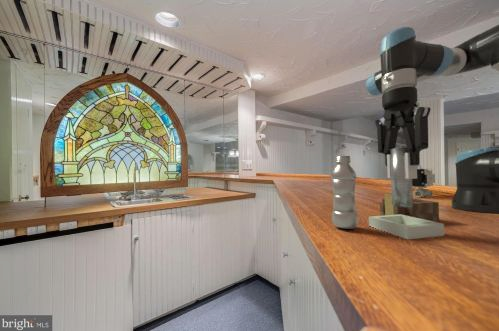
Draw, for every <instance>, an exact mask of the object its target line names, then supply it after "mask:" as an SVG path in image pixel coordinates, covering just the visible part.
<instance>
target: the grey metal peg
mask: <svg viewBox="0 0 499 331" xmlns="http://www.w3.org/2000/svg"><path fill="white" fill-rule="evenodd" d="M389 150H390V151H391V178H390V188H391V191H390V193H392V205H393V206H399V207H413V199H414V197H413V195H414V191H413V186H412V179H406V176H405V153H410V152H406V150H408V149H407V147H398V148H396V147H395V149H389Z"/></svg>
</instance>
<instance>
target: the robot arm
mask: <svg viewBox="0 0 499 331" xmlns="http://www.w3.org/2000/svg"><path fill="white" fill-rule="evenodd" d="M416 37H417V36H416V32H415V29H414V28H413V27H410V26H409V27H408V26H404V27H400V28H396V29H394V30H392V31H391V32H389V33H388V34H386V35H385V36H384V37H383V38H382V39H381V42H380V51H379V57H380V70H379V71H377V72H374V73H373V74H371V75H370V76H369V77H368V78H367V80H366V82H365V88H366V91H367V93H369V94H370V95H371V96H374V97H375V96H376V97H377V96H379V95H381V106H382V109H383V110H384V113H383V117H381V118H380V119H376V120H375V121H374V124H375V126H376V131H377V132H376V133H377V152H378V153H380V154H383V155H384V160H385V161H384V162H385V163H384V164H385V167H387V168H386V170H387V171H386V172H387V179H391V151H390V149H395V148H396V146H397V139H398V136H399V130H401V129H402V133H403V136H404V142H405V145H406V148H407V149H408V150H406V152H410V153H405V176H406V179H417V168H418V166H420V152H421V151H423V150H427V149H428V148H429V116H430V112H431V108H430V107H429V106H426V107H425V106H418V104H417V102H418V88H417V86H418V83H420V82H423V81H427V80H430V79H433V78H437V77H441V76H443V77H450V76H453V75H457V74H462V73H466V72H471V71H475V70H479V69H482V68H486V67H488V66H490V68H491V69H492V70H496V71H498V72H499V24H497V25H495V26H493V27H491V28H489V29H487V30H485V31H482V32H481V33H479V34H477V35H475V36H473V37H471V38H469V39H467V40H465V41H464V42H462V43H460V44H458V45H456V46H455V47H449V46H446V45H443V44H441V43H440V44H435V43H429V42H425V41H420V40H416V39H417V38H416ZM454 165H455V175H456V176H455V177H456V190H455V192H454V195H453V198H452V200H451V208H454V209H457V210H462V211H468V212H476V213H489V214H490V213H491V214H499V147H498V146H497V147H495V146H493V147H483V148H477V149H476V148H475V149H470V150H465V151H461V152H459V153H457V155H456V156H455V163H454Z"/></svg>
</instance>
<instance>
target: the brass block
mask: <svg viewBox="0 0 499 331" xmlns="http://www.w3.org/2000/svg"><path fill="white" fill-rule="evenodd" d="M383 195H384V197H383V198H384V199H385V215H394V208H393V205H392V192H390V193H387V192H386V193H384V194H383Z"/></svg>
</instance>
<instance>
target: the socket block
mask: <svg viewBox="0 0 499 331" xmlns="http://www.w3.org/2000/svg"><path fill="white" fill-rule="evenodd" d="M381 202H382V203H379V210H380V211H379V216H384V215H385V198H382V199H381ZM393 208H394V215H398V214H401V215H406V216H410V217H415V218H419V219H424V220H429V221H433V222H438V223H440V210H439V208H440V206H439V202H438V201H432V200H425V199H419V198H417V199H416V198H413V207H399V206H393Z"/></svg>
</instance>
